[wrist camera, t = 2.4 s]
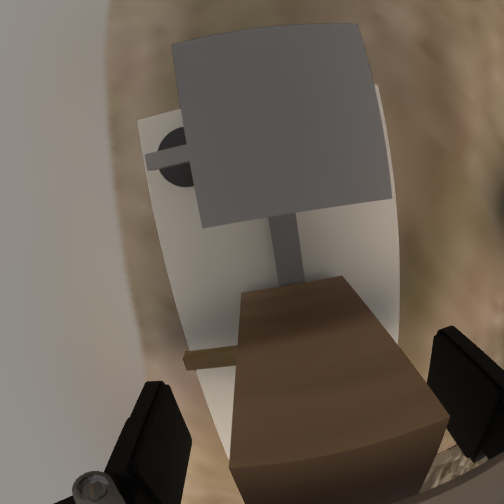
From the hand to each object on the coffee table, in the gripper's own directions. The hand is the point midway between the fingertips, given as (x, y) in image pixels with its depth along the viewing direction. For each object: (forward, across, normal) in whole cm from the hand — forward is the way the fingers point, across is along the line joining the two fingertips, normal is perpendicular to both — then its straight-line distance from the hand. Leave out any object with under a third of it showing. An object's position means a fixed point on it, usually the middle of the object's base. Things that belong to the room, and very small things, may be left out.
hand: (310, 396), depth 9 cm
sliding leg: (+3, +1, 0) cm, 4 cm away
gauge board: (+5, 0, +1) cm, 5 cm away
